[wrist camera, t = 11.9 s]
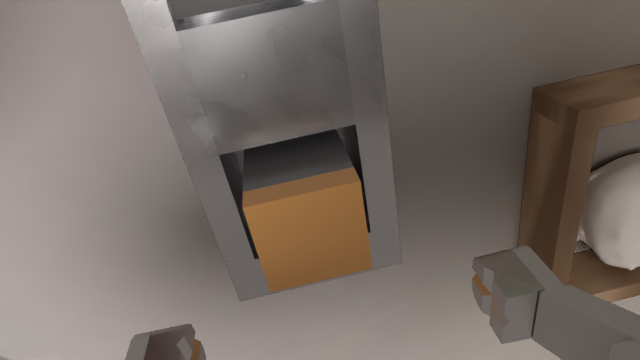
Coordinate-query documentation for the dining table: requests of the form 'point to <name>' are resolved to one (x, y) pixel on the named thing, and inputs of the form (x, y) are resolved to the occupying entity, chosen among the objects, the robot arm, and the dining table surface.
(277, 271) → the plug
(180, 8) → the twin plug
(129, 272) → the dining table surface
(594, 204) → the garlic
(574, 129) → the garlic corral
